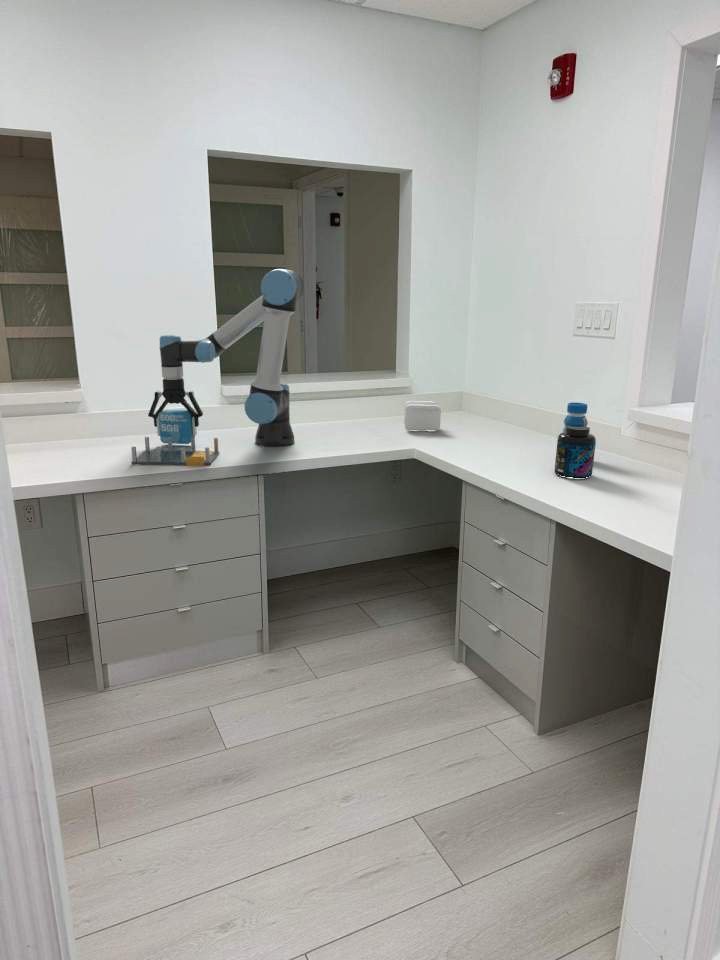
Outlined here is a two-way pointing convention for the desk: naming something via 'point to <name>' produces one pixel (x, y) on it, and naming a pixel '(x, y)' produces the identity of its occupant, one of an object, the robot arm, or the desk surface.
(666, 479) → the desk surface
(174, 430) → the data package
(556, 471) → the container
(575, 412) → the beverage bottle
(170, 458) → the panel rack
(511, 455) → the desk surface
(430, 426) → the cable organizer
